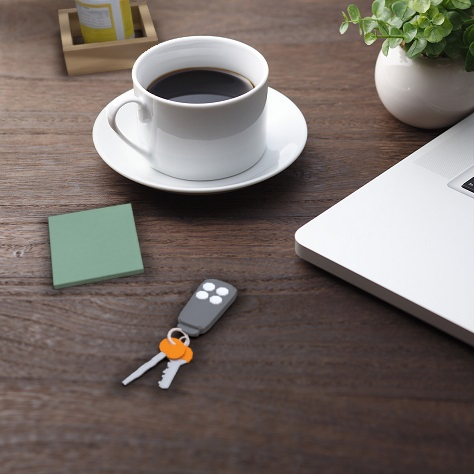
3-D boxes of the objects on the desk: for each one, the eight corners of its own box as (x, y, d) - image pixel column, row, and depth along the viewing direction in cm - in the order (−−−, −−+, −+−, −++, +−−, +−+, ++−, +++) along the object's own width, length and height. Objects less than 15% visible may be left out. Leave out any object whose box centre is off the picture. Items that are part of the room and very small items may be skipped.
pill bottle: (130, 34, 111) (117, -51, 103) (141, 56, 106) (128, -30, 99) (81, 41, 109) (64, -44, 101) (90, 65, 104) (72, -23, 97)
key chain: (204, 284, 76) (203, 272, 75) (240, 296, 75) (239, 284, 74) (121, 385, 67) (118, 374, 66) (161, 401, 66) (158, 389, 65)
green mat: (49, 221, 81) (47, 216, 81) (131, 207, 84) (130, 202, 83) (54, 290, 74) (53, 285, 74) (144, 273, 77) (143, 268, 76)
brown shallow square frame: (62, 34, 110) (57, 9, 108) (149, 24, 113) (146, 0, 111) (68, 76, 102) (63, 51, 100) (161, 65, 105) (158, 40, 103)
